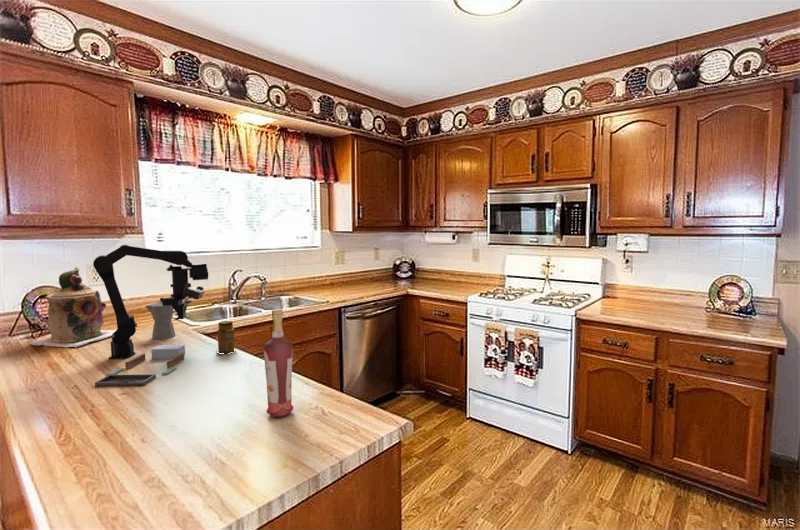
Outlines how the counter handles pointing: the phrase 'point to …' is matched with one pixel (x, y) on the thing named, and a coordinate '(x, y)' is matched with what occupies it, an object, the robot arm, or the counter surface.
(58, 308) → the cookie jar
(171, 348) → the block
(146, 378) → the tray
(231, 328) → the condiment
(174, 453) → the counter surface
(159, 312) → the coffeepot
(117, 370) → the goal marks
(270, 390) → the liquor
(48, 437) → the counter surface
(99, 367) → the counter surface
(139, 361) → the brown wooden beams
